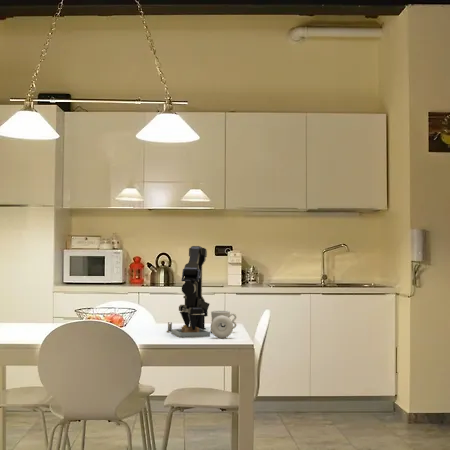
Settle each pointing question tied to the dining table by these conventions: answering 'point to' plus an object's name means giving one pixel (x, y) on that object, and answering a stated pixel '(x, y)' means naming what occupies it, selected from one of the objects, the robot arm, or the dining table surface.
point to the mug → (224, 313)
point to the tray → (190, 333)
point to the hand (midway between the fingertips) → (190, 328)
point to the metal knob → (169, 326)
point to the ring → (189, 329)
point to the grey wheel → (216, 330)
